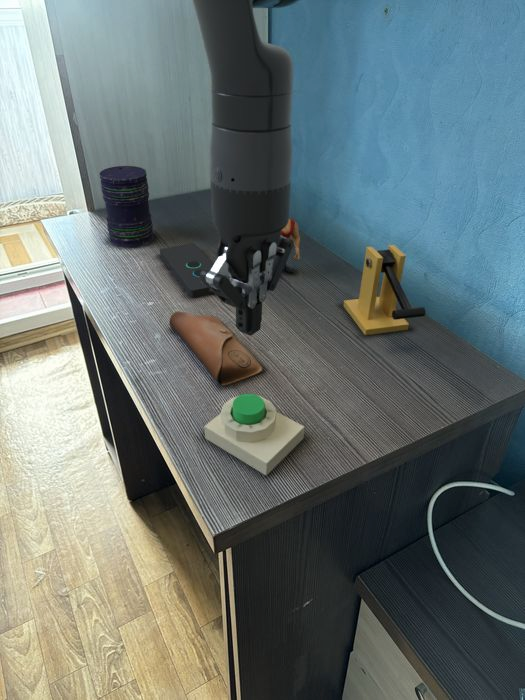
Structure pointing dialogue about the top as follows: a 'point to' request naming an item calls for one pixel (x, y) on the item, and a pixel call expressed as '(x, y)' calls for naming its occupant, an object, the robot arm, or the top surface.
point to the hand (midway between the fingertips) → (249, 330)
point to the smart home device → (188, 267)
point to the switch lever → (398, 289)
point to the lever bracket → (369, 308)
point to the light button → (248, 409)
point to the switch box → (255, 437)
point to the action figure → (292, 232)
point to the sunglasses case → (215, 347)
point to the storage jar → (127, 206)
